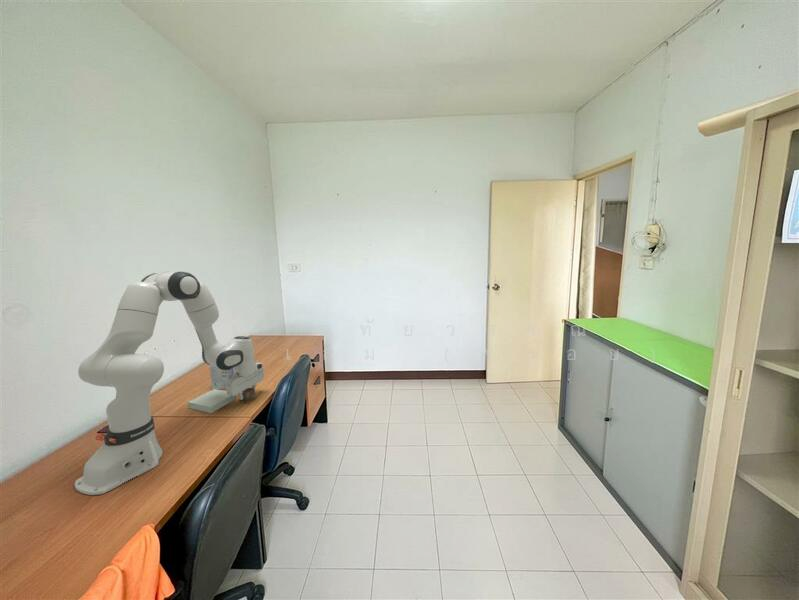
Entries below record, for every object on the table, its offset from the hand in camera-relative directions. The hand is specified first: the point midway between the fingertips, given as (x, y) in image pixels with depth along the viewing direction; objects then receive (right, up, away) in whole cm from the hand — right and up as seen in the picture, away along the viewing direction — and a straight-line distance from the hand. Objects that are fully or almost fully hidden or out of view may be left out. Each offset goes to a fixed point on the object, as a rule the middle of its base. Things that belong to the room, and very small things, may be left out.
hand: (247, 396), depth 152 cm
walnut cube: (0, -2, 0) cm, 2 cm away
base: (-15, -3, -3) cm, 15 cm away
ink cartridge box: (-20, 0, +14) cm, 24 cm away
